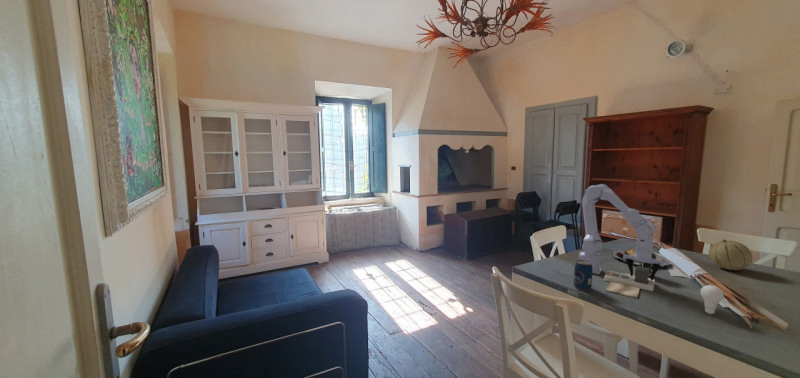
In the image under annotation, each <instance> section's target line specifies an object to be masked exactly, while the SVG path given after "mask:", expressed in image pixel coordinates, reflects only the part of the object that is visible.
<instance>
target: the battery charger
mask: <svg viewBox="0 0 800 378" xmlns="http://www.w3.org/2000/svg"><path fill="white" fill-rule="evenodd" d="M656 255H657V254H655V253H652V258H653V259H656ZM652 266H653V264H649V263H644V262H641V265H640V267H645V268H649V276H648V278H651V276H652Z"/></svg>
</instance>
